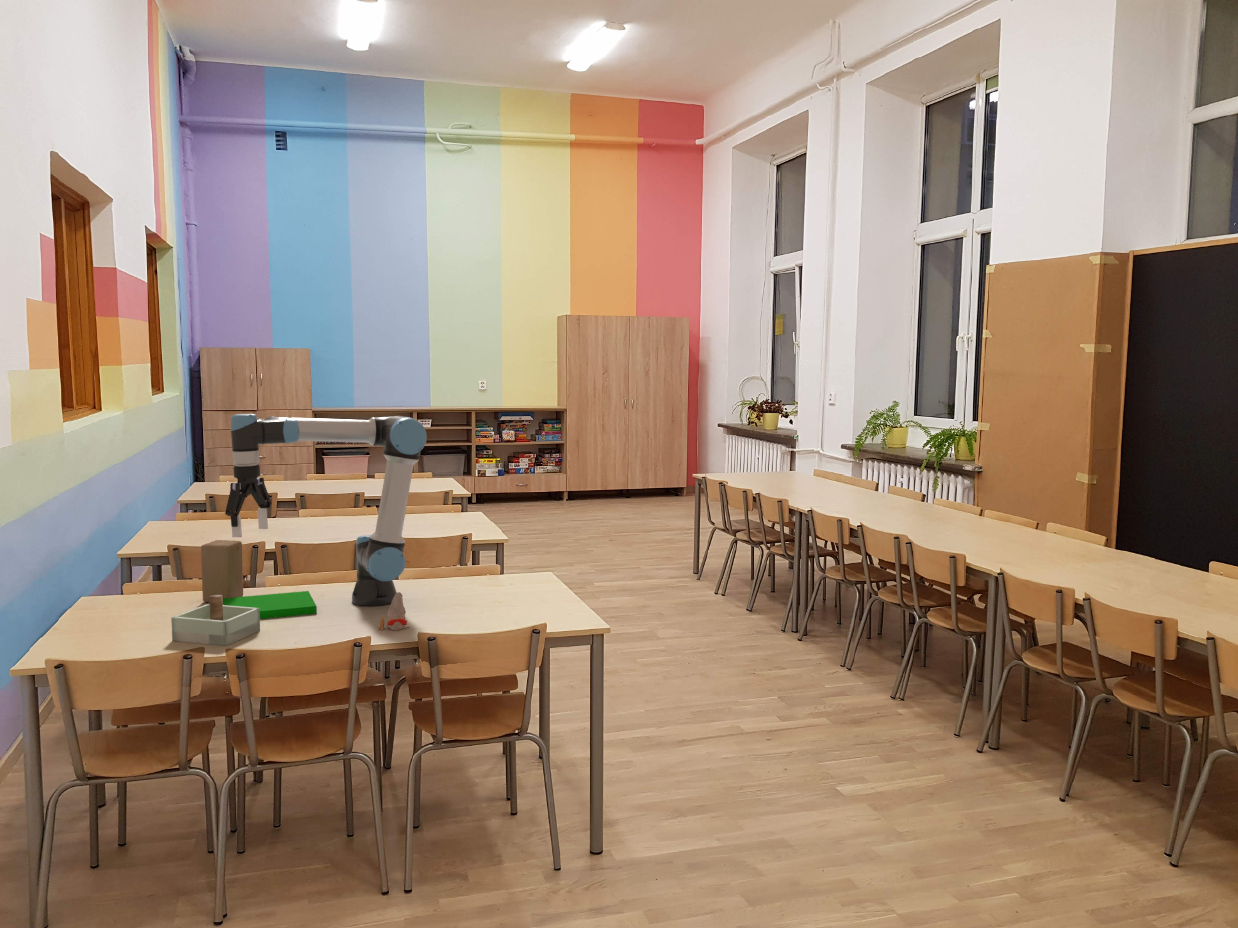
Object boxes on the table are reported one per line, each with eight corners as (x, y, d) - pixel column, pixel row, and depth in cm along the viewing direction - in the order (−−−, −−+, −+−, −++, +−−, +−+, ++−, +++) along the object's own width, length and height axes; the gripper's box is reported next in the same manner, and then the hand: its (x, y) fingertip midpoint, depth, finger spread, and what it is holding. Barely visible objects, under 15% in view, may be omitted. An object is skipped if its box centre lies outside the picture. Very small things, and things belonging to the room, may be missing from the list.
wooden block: (244, 596, 319) (243, 540, 317) (229, 604, 309) (227, 545, 307) (217, 595, 320) (215, 539, 318) (201, 602, 310) (199, 544, 308)
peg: (226, 634, 274) (225, 595, 273) (218, 637, 271) (217, 598, 269) (215, 633, 275) (214, 594, 274) (207, 636, 271) (206, 597, 270)
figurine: (406, 623, 288) (409, 588, 285) (410, 632, 282) (413, 596, 279) (377, 625, 284) (379, 589, 281) (380, 634, 278) (383, 597, 275)
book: (220, 607, 307) (220, 598, 306) (308, 599, 319) (308, 590, 318) (223, 624, 286) (222, 615, 286) (316, 615, 298) (316, 606, 298)
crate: (260, 630, 278) (259, 608, 278) (226, 645, 263) (225, 621, 262) (208, 625, 282) (207, 603, 282) (172, 640, 267) (171, 617, 266)
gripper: (259, 459, 292) (263, 525, 295) (209, 469, 268) (214, 540, 271) (280, 460, 291) (284, 525, 293) (232, 469, 267) (236, 541, 269)
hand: (250, 532), depth 282 cm, fingers open, 13 cm apart
